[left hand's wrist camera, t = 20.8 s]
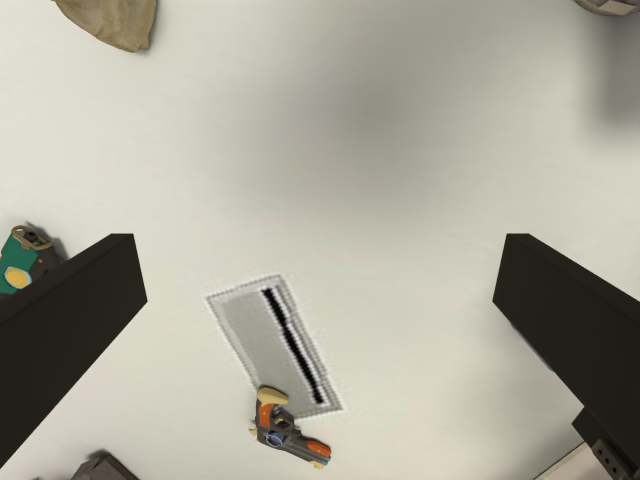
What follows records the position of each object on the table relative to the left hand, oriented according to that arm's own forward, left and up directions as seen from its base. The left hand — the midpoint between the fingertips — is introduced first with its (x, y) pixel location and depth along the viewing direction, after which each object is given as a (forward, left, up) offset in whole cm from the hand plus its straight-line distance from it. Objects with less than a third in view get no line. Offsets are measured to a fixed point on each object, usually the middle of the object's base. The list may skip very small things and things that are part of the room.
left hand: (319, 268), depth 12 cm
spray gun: (+45, +3, -33) cm, 55 cm away
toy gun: (+20, +42, -33) cm, 57 cm away
